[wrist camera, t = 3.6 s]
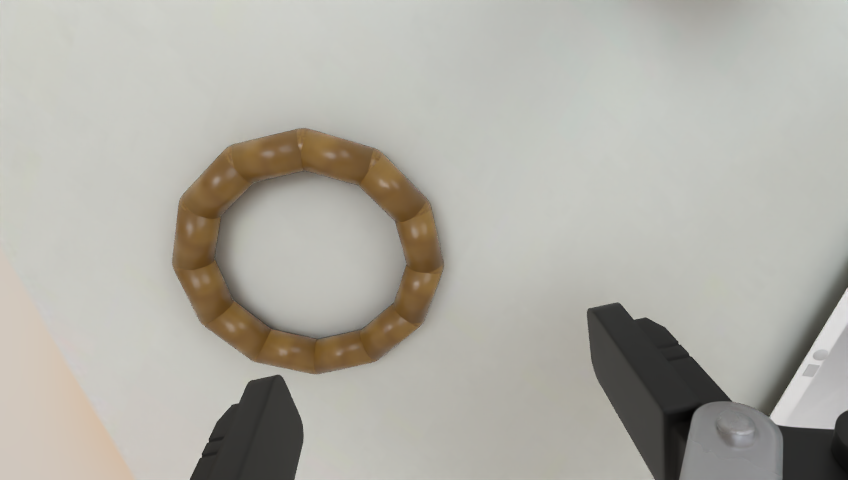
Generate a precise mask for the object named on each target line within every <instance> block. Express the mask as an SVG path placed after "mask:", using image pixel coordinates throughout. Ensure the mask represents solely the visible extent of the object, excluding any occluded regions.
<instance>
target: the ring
mask: <svg viewBox="0 0 848 480" xmlns="http://www.w3.org/2000/svg"><path fill="white" fill-rule="evenodd" d="M300 171H309V172H312V173H316V174H319V175H323V176H326V177H330V178H334V179H337V180H341V181H344V182H348V183H351V184H355V185H358V186H359V187H360V188H361V189H362V190H363V191H365V192H366V193H367V194H368V195H369V196H370V197H371V198H372V199H373V200H374V201H375V202H376V203H377V204H378V205H379V206H380V207H381V208H382V209H383V210H384V211H385V212H386V213H387V214H388V215H389V216H390V217H391V218H392V219H393V220H394V221H395V222H396V226H397V230H398V233H399V237H400V241H401V245H402V248H403V252H404V256H405V260H406V263H407V265H406V268H405V271H404V274H403V277H402V280H401V283H400V286H399V289H398V292H397V295H396V298H395V301H394V303H393V304H392V305H391V306H389V307H388V308H387V309H386V310H385V311H383V312H382V313H381V314H380V315H379V316H377V317H376V318H375V319H374V320H373V321H371V322H370V323H369V324H368V325H367V326H366V327H364V328H363V329H362V330H357V331H353V332H348V333H344V334H339V335H335V336H330V337H326V338H321V339H314V338H310V337H305V336H301V335H296V334H292V333H287V332H283V331H278V330H274V329H270V328H269V327H268V326H266V325H265V324H264V323H263V322H261V321H260V320H259V319H257V318H256V317H255V316H253V315H252V314H251V313H249V312H248V311H247V310H246V309H244V308H243V307H242V306H240V305H239V304H238V303H236V302H235V301H234V300H233V299H232V296H231V294H230V292H229V290H228V288H227V285H226V283H225V281H224V279H223V277H222V274H221V272H220V270H219V268H218V266H217V263H216V261H215V259H214V258H215V252H216V245H217V239H218V233H219V226H220V220H221V215H222V214H223V213H224V212H225V211H226V210H227V209H228V208H229V207H230V206H231V205H232V204H233V203H234V202H235V201H236V200H237V199H238V198H239V197H240V196H241V195H242V194H243V193H244V192H245V191H246V190H247V189H248V188H249V187H250V186H251V185H252V184H253V183H254V182H258V181H262V180H266V179H271V178H275V177H279V176H283V175H288V174H292V173H296V172H300ZM172 265H173V269H174V271H175V273H176V275H177V277H178V279H179V281H180V283H181V285H182V287H183V289H184V291H185V293H186V295H187V297H188V299H189V301H190V303H191V305H192V307H193V309H194V311H195V313H196V315H197V317H198V319H199V321H200V322H201V324H203V325H204V326H205V327H206V328H208V329H209V330H210V331H212V332H213V333H215V334H216V335H217V336H219V337H220V338H221V339H223V340H224V341H226V342H227V343H228V344H230V345H231V346H232V347H234V348H235V349H237V350H238V351H239V352H241V353H242V354H243V355H245V356H246V357H248V358H249V359H250V360H252V361H254V362H257V363H262V364H267V365H272V366H276V367H281V368H286V369H291V370H296V371H300V372H305V373H310V374H322V373H326V372H331V371H335V370H340V369H345V368H349V367H354V366H358V365H363V364H368V363H372V362H375V361H377V360H379V359H380V358H381V357H383V356H384V355H385V354H386V353H388V352H389V351H390V350H391V349H393V348H394V347H395V346H396V345H398V344H399V343H400V342H401V341H402V340H404V339H405V338H406V337H407V336H409V335H410V334H411V333H412V332H414V331H415V330H416V329H417V328H419V327H420V326H421V325H422V324H423V322H424V320H425V318H426V315H427V313H428V310H429V307H430V304H431V302H432V299H433V296H434V293H435V291H436V288H437V285H438V282H439V280H440V277H441V274H442V272H443V268H444V262H443V257H442V253H441V248H440V244H439V240H438V235H437V231H436V227H435V222H434V218H433V213H432V209H431V205H430V203H429V201H428V200H427V198H426V197H425V196H424V195H423V194H422V193H421V192H420V191H419V190H418V189H417V188H416V187H415V186H414V185H413V184H412V183H411V182H410V181H409V180H408V179H407V178H406V177H405V176H404V175H403V174H402V173H401V172H400V171H399V170H398V169H397V168H396V167H395V166H394V165H393V164H392V163H391V161H390V160H389V159H388V158H387V157H386V156H385V155H384V154H383V153H382V152H380V151H379V150H377V149H375V148H372V147H369V146H365V145H362V144H358V143H355V142H352V141H348V140H345V139H342V138H338V137H335V136H331V135H328V134H325V133H321V132H318V131H314V130H311V129H307V128H300V129H295V130H291V131H287V132H283V133H278V134H274V135H270V136H266V137H262V138H258V139H253V140H249V141H245V142H241V143H237V144H233V145H231V146H229V147H227V148H226V149H225V150H224V151H223V152H222V153H221V154H220V155H219V156H218V157H217V158H216V160H215V161H214V162H213V163H212V164H211V165H210V166H209V167H208V168H207V169H206V170H205V171H204V172H203V173H202V175H201V176H200V177H199V178H198V179H197V180H196V181H195V182H194V183H193V184H192V185H191V186H190V187H189V188H188V190H187V191H186V192H185V193H184V194H183V195H182V196H181V198H180V201H179V206H178V215H177V223H176V232H175V240H174V249H173V257H172Z"/></svg>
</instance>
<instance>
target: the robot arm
mask: <svg viewBox="0 0 848 480" xmlns="http://www.w3.org/2000/svg"><path fill="white" fill-rule="evenodd" d="M587 320H588V330H589V341H590V351H591V359H592V364H593V368H594V371H595V374H596V377H597V379H598V381H599V383H600V385H601V386H602V388H603V390H604V392H605V393H606V395H607V397H608V399H609V400H610V402H611V404H612V406H613V407H614V409H615V411H616V413H617V414H618V416H619V418H620V419H621V421H622V423H623V425H624V426H625V428H626V430H627V432H628V433H629V435H630V437H631V439H632V440H633V442H634V444H635V446H636V447H637V449H638V451H639V452H640V454H641V456H642V458H643V459H644V461H645V463H646V465H647V466H648V468H649V470H650V472H651V473H652V475H653V477H654V479H655V480H848V410H847V411H845V412H843V413H842V414H840V415H839V417H838V418H837V420H836V423H835V428H834V429H818V428H801V427H788V426H781V425H776V424H775V423H774V422H773V420H771V419H770V418H769V417H768V416H767V415H765V414H763V413H762V412H760V411H758V410H756V409H755V408H752V407H750V406H747V405H744V404H740V403H736V402H732V401H731V400H730V398H729V397H728V396H727V395H726V394H725V393H724V392H723V391H722V390H721V389H720V387H719V386H718V385H717V384H716V383H715V382H714V381H713V380H712V379H711V378H710V376H709V375H708V374H707V373H706V372H705V371H704V370H703V369H702V368H701V367H700V365H699V364H698V363H697V362H696V361H695V360H694V359H693V358H692V357H690V356H689V353H688V352H687V351H686V350H685V349H684V348H683V347H682V346H681V345H679V344H678V341H677V340H676V339H675V338H674V337H673V336H672V335H671V333H670V332H669V331H668V330H667V329H666V328H665V327H663V326H661V325H659V324H657V323H655V322H653V321H652V320H650V319H648V318H641V319H636V320H633V318H632V317H631V316H630V315H629V313H628V312H627V311H626V310H625V309H624V307H623V306H622V305H621V304H620V303H618V302H617V303H612V304H608V305H603V306H599V307H594V308H589V309H588V311H587ZM303 436H304V434H303V424H302V420H301V417H300V415H299V413H298V410H297V408H296V406H295V403H294V401H293V399H292V397H291V394H290V392H289V390H288V388H287V385H286V383H285V381H284V379H283V377H282V376H280V375H275V376H270V377H265V378H261V379H256V380H251V381H249V383H248V384H247V386H246V388H245V390H244V393H243V395H242V397H241V400H240V402H239V404H234V405H231V407H230V408H229V409H228V410H227V411H226V412H225V413H224V415H223V416H222V417H221V418H220V419H219V420H218V421H217V423H216V425H215V427H214V429H213V432H212V434H211V436H210V438H209V443H207V444H206V446H205V449H204V451H203V453H202V458H200V459H199V461H198V463H197V466H196V468H195V470H194V472H193V474H192V476H191V478H190V480H294V479H295V474H296V470H297V466H298V462H299V457H300V453H301V449H302V445H303Z"/></svg>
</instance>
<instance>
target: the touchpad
mask: <svg viewBox="0 0 848 480" xmlns="http://www.w3.org/2000/svg"><path fill="white" fill-rule="evenodd" d="M847 410H848V287H847V289H846V291H845V292H844V294H843V296H842V297H841V299H840V301H839V302H838V304H837V306H836V307H835V309H834V311H833V312H832V314H831V316H830V317H829V319H828V321H827V322H826V324H825V326H824V327H823V329H822V331H821V332H820V334H819V335H818V337H817V339H816V340H815V342H814V344H813V345H812V347H811V349H810V350H809V352H808V354H807V355H806V357H805V359H804V360H803V362H802V364H801V365H800V367H799V369H798V370H797V372H796V374H795V375H794V377H793V379H792V380H791V382H790V384H789V385H788V387H787V388H786V390H785V392H784V393H783V395H782V397H781V398H780V400H779V402H778V403H777V405H776V407H775V408H774V410H773V412H772V413H771V415H770V417H769V418H770V419H771V420H773V422H774V423H775V424H776V425H781V426H788V427H801V428H818V429H834V428H835V423H836V420H837V418H838V417H839V415H840V414H842V413H843V412H845V411H847Z"/></svg>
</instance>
